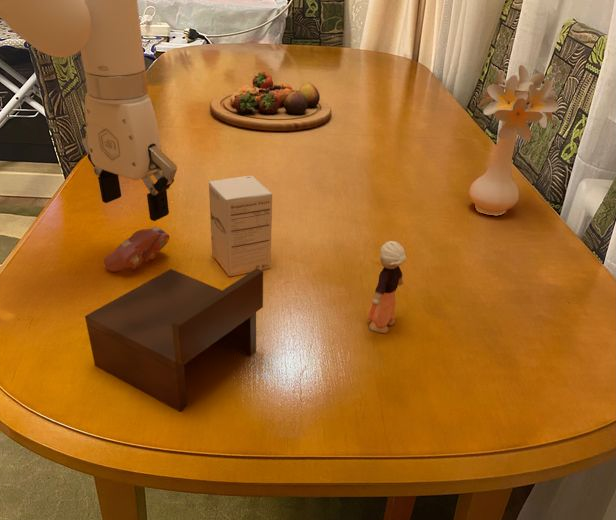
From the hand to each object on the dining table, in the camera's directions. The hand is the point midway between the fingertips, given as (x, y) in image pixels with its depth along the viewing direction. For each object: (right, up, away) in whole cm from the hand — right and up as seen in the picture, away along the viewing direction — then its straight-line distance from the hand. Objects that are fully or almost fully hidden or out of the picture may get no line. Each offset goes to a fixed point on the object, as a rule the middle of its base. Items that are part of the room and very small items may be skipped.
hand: (135, 208), depth 88 cm
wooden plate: (+15, +42, +72) cm, 84 cm away
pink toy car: (-1, -7, +5) cm, 9 cm away
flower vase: (+61, +6, +28) cm, 67 cm away
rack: (+9, -22, -13) cm, 27 cm away
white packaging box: (+15, -7, +7) cm, 18 cm away
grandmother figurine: (+35, -18, -5) cm, 40 cm away
